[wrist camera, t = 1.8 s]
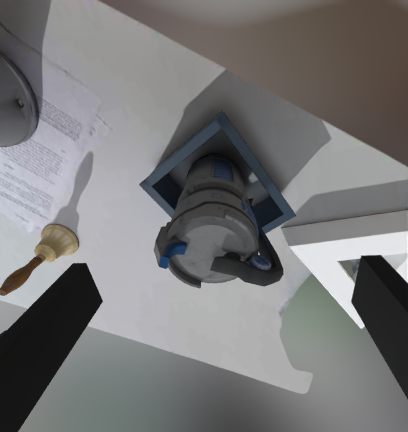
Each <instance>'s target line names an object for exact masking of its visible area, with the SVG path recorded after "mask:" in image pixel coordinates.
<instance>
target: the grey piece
mask: <svg viewBox="0 0 408 432" xmlns="http://www.w3.org/2000/svg"><path fill="white" fill-rule="evenodd" d="M253 199H254V198H252V199H248V197H247V193H246V190H245V186H244V182H243V179H242V175H241V172H240V170H239V168H238V167H237V165H236V164H235V163H234V162H233V161H231V160H230V159H228V158H226V157H224V156H219V155H210V156H205V157H203V158H201V159H199V160H198V161H196V162H195V163H194V164H193V165H192V167H191V168H190V170H189V172H188V175H187V179H186V183H185V185H184V188H183V191H182V194H181V195H180V197H179V200H178V203H177V206H176V209H175V212H174V214H173V217H172V220H171V222H168V223H167V225H166V227H161V229H160V232H159V234H158V237H157V239H156V242H155V248H154V252H155V255H156V259H157V262H158V265H159V267H161V268H165V269H167V267H168V268H169V269H170V271H171V272H172V273H173V274H174V275H175V276H176V277H177V278H178V279H179V280H181V281H182V282H184V283H186V284H188V285H190V286H193V287H197V288H201V282H205V283H222V282H227V281H230V280H233V279H236V278H238V277H239V278H240V279H241V280H243V281H244V282H247V283H251V284H256V285H260V286H267V285H270V284H273V283H275V282H278V281H279V280H280V279H281V277H282V276H283V267H282V265H281V262H280V260H279V257H278V255H277V253H276V251H275V250H274V248H273V246H272V245H271V243H270V241H269V240H268V238H267V236H266V235H265V233H264V231H263V229H262V228H261V226H260V224H259V223H258V221H257V219H256V218H255V215H254V212H253V209H252V206H251V204H252V201H253ZM258 251H259V253H260V255H258Z"/></svg>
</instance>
